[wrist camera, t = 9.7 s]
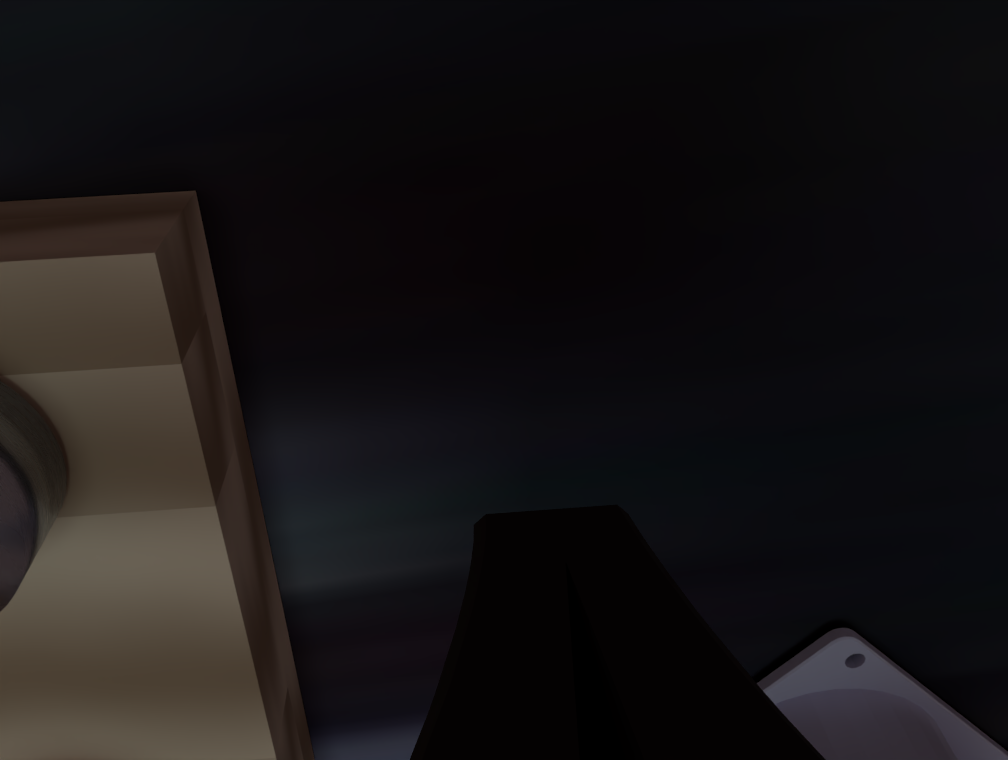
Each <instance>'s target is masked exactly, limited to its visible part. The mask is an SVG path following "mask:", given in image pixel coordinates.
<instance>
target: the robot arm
mask: <svg viewBox="0 0 1008 760" xmlns="http://www.w3.org/2000/svg"><path fill="white" fill-rule="evenodd" d="M853 654H854V655H853ZM851 655H852V656H851ZM410 760H1008V751H1006V750H1005V749H1004V748H1002V747H1001V746H1000V745H999V744H997V743H996V742H995V741H994V740H992V739H991V738H990V737H988V736H987V735H986V734H985V733H983V732H982V731H981V730H980V729H978V728H977V727H976V726H974V725H973V724H972V723H971V722H969V721H968V720H967V719H966V718H964V717H963V716H962V715H960V714H959V713H958V712H957V711H955V710H954V709H953V708H952V707H950V706H949V705H948V704H946V703H945V702H944V701H943V700H941V699H940V698H939V697H938V696H936V695H935V694H934V693H932V692H931V691H930V690H929V689H927V688H926V687H925V686H924V685H922V684H921V683H920V682H918V681H917V680H916V679H915V678H913V677H912V676H911V675H910V674H908V673H907V672H906V671H904V670H903V669H902V668H901V667H899V666H898V665H897V664H896V663H894V662H893V661H892V660H890V659H889V658H888V657H887V656H885V655H884V654H883V653H882V652H880V651H879V650H878V649H876V648H875V647H874V646H873V645H871V644H870V643H869V642H868V641H866V640H865V639H864V638H862V637H861V636H860V635H859V634H857V633H856V632H855V631H853V630H851V629H849V628H837V629H833V630H831V631H829V632H827V633H826V634H825V635H823V636H822V637H820V638H819V639H818V640H816V641H815V642H814V643H812V644H811V645H809V646H808V647H807V648H805V649H804V650H802V651H801V652H800V653H798V654H797V655H795V656H794V657H793V658H791V659H790V660H788V661H787V662H786V663H784V664H783V665H782V666H780V667H779V668H777V669H776V670H775V671H773V672H772V673H770V674H769V675H768V676H766V677H765V678H763V679H762V680H761V681H759V682H758V683H756V682H755V681H754V680H753V679H752V677H751V676H750V675H749V674H748V673H747V671H746V670H745V669H744V668H743V667H742V665H741V664H740V663H739V662H738V661H737V659H736V658H735V657H734V656H733V655H732V653H731V652H730V651H729V650H728V649H727V647H726V646H725V645H724V644H723V643H722V641H721V640H720V639H719V638H718V637H717V636H716V634H715V633H714V632H713V631H712V629H711V628H710V627H709V626H708V624H707V623H706V622H705V621H704V619H703V618H702V617H701V616H700V614H699V613H698V612H697V610H696V609H695V608H694V607H693V605H692V604H691V603H690V601H689V600H688V599H687V597H686V596H685V595H684V593H683V592H682V591H681V589H680V588H679V587H678V585H677V584H676V583H675V581H674V580H673V579H672V577H671V576H670V575H669V573H668V572H667V571H666V569H665V568H664V566H663V565H662V564H661V562H660V561H659V559H658V558H657V557H656V555H655V554H654V552H653V551H652V549H651V548H650V547H649V545H648V544H647V542H646V541H645V539H644V538H643V536H642V535H641V533H640V532H639V530H638V529H637V527H636V526H635V524H634V523H633V521H632V519H631V518H630V516H629V515H628V514H627V513H626V512H625V511H624V510H623V509H621V508H620V507H619V506H618V505H607V506H594V507H580V508H566V509H553V510H539V511H525V512H511V513H498V514H486V515H485V516H483V517H482V518H481V519H480V520H479V521H478V522H477V523H476V524H475V525H474V544H473V552H472V560H471V567H470V572H469V577H468V582H467V587H466V591H465V595H464V599H463V603H462V607H461V611H460V615H459V619H458V623H457V627H456V630H455V633H454V636H453V639H452V643H451V646H450V649H449V652H448V655H447V658H446V661H445V665H444V668H443V671H442V674H441V677H440V680H439V683H438V687H437V690H436V693H435V696H434V698H433V701H432V704H431V707H430V710H429V712H428V715H427V718H426V720H425V723H424V725H423V728H422V730H421V733H420V735H419V738H418V740H417V743H416V745H415V748H414V750H413V753H412V755H411V758H410Z"/></svg>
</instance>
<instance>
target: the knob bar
mask: <svg viewBox="0 0 1008 760" xmlns="http://www.w3.org/2000/svg"><path fill="white" fill-rule="evenodd" d="M0 380H1V382H3V383H4V384H6V385H7V386H9V387H10V388H12V389H13V390H14V391H15V392H17V393H18V394H19V395H20V396H21V397H23V398H24V399H25V400H26V401H27V402H28V403H29V404H30V405H31V406H32V407H33V408H34V409H35V410H36V411H37V412H38V413H39V414H40V416H41V417H42V418H43V419H44V421H45V422H46V423H47V425H48V426H49V428H50V429H51V431H52V433H53V434H54V436H55V438H56V439H57V442H58V444H59V446H60V449H61V451H62V454H63V458H64V462H65V466H66V474H67V488H66V495H65V499H64V503H63V506H62V508H61V510H60V512H59V514H58V516H57V518H56V520H55V522H54V524H53V526H52V527H51V529H50V531H49V533H48V535H47V537H46V538H45V540H44V542H43V544H42V546H41V548H40V549H39V551H38V553H37V555H36V557H35V559H34V560H33V562H32V564H31V566H30V568H29V570H28V571H27V573H26V575H25V577H24V579H23V581H22V582H21V584H20V586H19V588H18V590H17V592H16V593H15V595H14V596H13V598H12V599H11V601H10V602H9V603H8V605H7V606H6V607H5V608H4V609H3V610H2V611H1V612H0V760H315V759H314V754H313V749H312V745H311V740H310V735H309V730H308V725H307V721H306V716H305V711H304V706H303V702H302V697H301V692H300V687H299V682H298V678H297V673H296V668H295V663H294V659H293V654H292V649H291V644H290V639H289V635H288V630H287V625H286V620H285V615H284V611H283V606H282V601H281V596H280V592H279V587H278V582H277V577H276V572H275V568H274V563H273V558H272V553H271V548H270V544H269V539H268V534H267V529H266V525H265V520H264V515H263V510H262V505H261V501H260V496H259V491H258V486H257V481H256V477H255V472H254V467H253V462H252V458H251V453H250V448H249V443H248V438H247V434H246V429H245V424H244V419H243V415H242V410H241V405H240V400H239V395H238V391H237V386H236V381H235V376H234V371H233V367H232V362H231V357H230V352H229V348H228V343H227V338H226V333H225V328H224V324H223V319H222V314H221V309H220V304H219V300H218V295H217V290H216V285H215V281H214V276H213V271H212V266H211V261H210V257H209V252H208V247H207V242H206V238H205V233H204V228H203V223H202V218H201V214H200V209H199V204H198V199H197V194H196V191H181V192H164V193H146V194H129V195H111V196H94V197H76V198H59V199H41V200H24V201H6V202H0Z"/></svg>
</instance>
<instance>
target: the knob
mask: <svg viewBox="0 0 1008 760" xmlns="http://www.w3.org/2000/svg"><path fill="white" fill-rule="evenodd" d="M66 488H67V474H66V466H65V462H64V458H63V454H62V451H61V449H60V446H59V444H58V442H57V439H56V438H55V436H54V434H53V433H52V431H51V429H50V428H49V426H48V425H47V423H46V422H45V421H44V419H43V418H42V417H41V416H40V414H39V413H38V412H37V411H36V410H35V409H34V408H33V407H32V406H31V405H30V404H29V403H28V402H27V401H26V400H25V399H24V398H23V397H21V396H20V395H19V394H18V393H17V392H15V391H14V390H13V389H12V388H10V387H9V386H7V385H6V384H4V383H3V382H1V380H0V612H1V611H2V610H3V609H4V608H5V607H6V606H7V605H8V603H9V602H10V601H11V599H12V598H13V596H14V595H15V593H16V592H17V590H18V588H19V586H20V584H21V582H22V581H23V579H24V577H25V575H26V573H27V571H28V570H29V568H30V566H31V564H32V562H33V560H34V559H35V557H36V555H37V553H38V551H39V549H40V548H41V546H42V544H43V542H44V540H45V538H46V537H47V535H48V533H49V531H50V529H51V527H52V526H53V524H54V522H55V520H56V518H57V516H58V514H59V512H60V510H61V508H62V506H63V503H64V499H65V495H66Z"/></svg>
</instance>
